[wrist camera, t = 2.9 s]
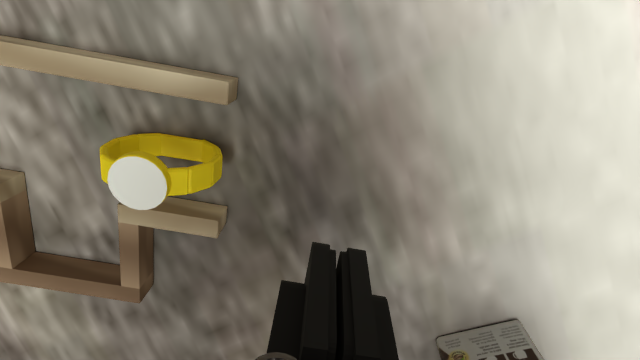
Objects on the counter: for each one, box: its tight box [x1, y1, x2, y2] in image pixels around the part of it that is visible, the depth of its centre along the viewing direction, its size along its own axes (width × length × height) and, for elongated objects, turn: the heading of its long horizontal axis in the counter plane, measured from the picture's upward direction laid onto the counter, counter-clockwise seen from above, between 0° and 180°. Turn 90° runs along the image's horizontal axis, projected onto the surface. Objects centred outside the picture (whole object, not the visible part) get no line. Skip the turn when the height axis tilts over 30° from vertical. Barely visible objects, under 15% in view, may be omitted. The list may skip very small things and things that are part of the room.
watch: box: [100, 133, 223, 210], centre depth 20 cm, size 6×3×6 cm, turn 81°
